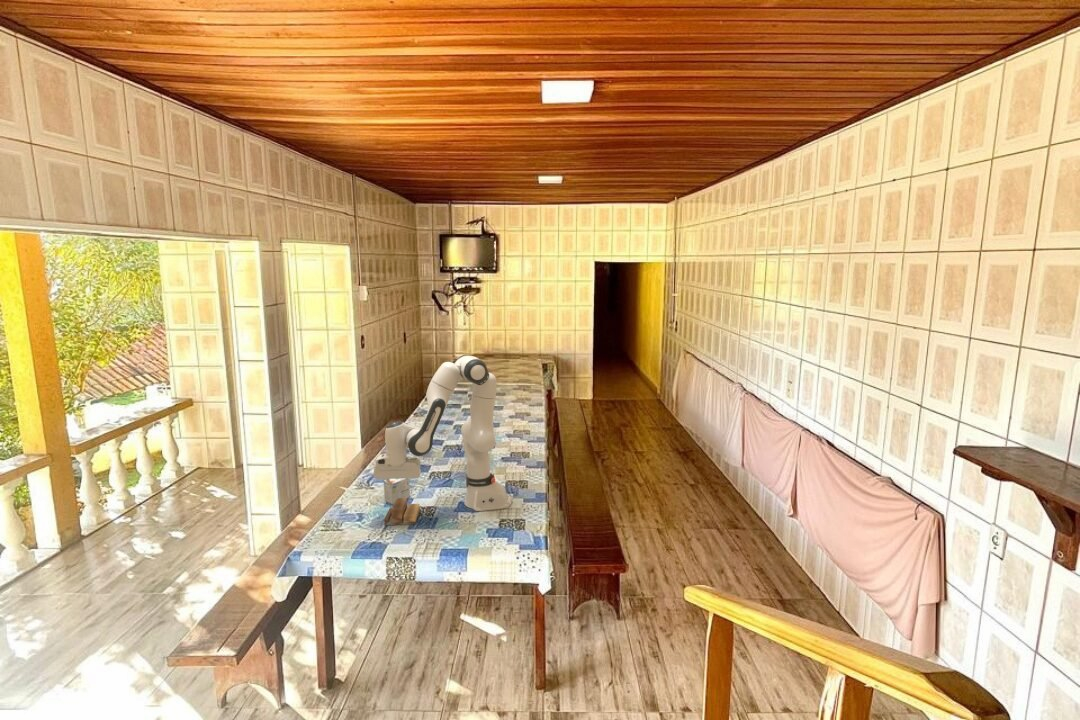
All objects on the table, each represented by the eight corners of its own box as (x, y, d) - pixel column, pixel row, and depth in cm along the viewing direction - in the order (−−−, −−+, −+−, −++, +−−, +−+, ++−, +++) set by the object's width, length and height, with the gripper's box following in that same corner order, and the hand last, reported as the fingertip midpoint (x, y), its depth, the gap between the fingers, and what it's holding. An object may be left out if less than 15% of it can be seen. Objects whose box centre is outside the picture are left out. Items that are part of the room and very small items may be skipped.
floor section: (419, 511, 257) (419, 503, 256) (415, 524, 244) (414, 516, 244) (390, 511, 256) (390, 503, 256) (384, 525, 244) (383, 517, 243)
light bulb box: (402, 493, 276) (401, 473, 274) (410, 497, 272) (409, 476, 270) (384, 501, 268) (382, 480, 266) (392, 504, 264) (391, 483, 261)
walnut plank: (407, 510, 256) (406, 497, 255) (402, 522, 244) (401, 509, 243) (397, 510, 256) (396, 498, 255) (392, 522, 244) (391, 510, 243)
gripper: (421, 454, 248) (422, 483, 251) (375, 455, 247) (376, 484, 250) (419, 459, 242) (420, 489, 245) (371, 460, 241) (373, 490, 244)
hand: (398, 487), depth 247 cm, fingers open, 5 cm apart
